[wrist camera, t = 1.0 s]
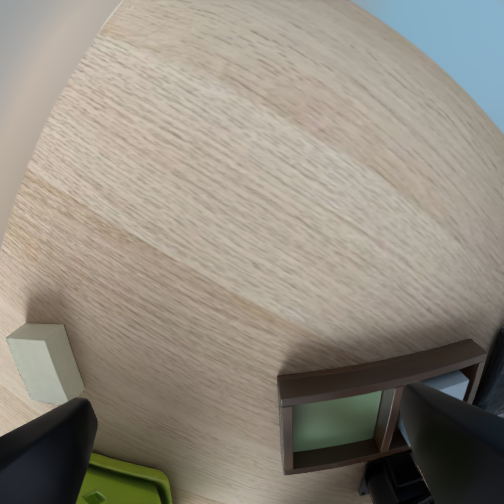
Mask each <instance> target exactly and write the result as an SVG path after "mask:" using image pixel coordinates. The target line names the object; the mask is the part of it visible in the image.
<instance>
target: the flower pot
mask: <svg viewBox="0 0 504 504" xmlns="http://www.w3.org/2000/svg"><path fill="white" fill-rule="evenodd" d="M76 504H172V497H171V490H170V484H169V480H168V478H167V476H166V475H165V474H164V473H163V472H162V471H160V470H157V469H154V468H149V467H145V466H140V465H136V464H132V463H128V462H124V461H120V460H116V459H112V458H109V457H106V456H102V455H99V454H96V453H93V452H92V453H91V457H90V461H89V465H88V468H87V472H86V475H85V477H84V480H83V483H82V486H81V489H80V492H79V495H78V499H77V502H76Z"/></svg>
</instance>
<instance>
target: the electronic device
mask: <svg viewBox="0 0 504 504" xmlns="http://www.w3.org/2000/svg"><path fill="white" fill-rule="evenodd" d="M472 405H474V406H476V407H479V408H481V409H483V410H486V411H488V412H491V413H493V414H495V415H498V416H500V417H503V418H504V326H503V328H502V331H501V333H500V337H499V341H498V344H497V347H496V349H495V351H494V354H493V357H492V359H491V362H490V366H489V368H488V370H487V373H486V374H485V376H484V379H483V383H482V385H481V387H480V390H479V392H478V394H477V395H476V396H475V398H474V400H473V402H472Z"/></svg>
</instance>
